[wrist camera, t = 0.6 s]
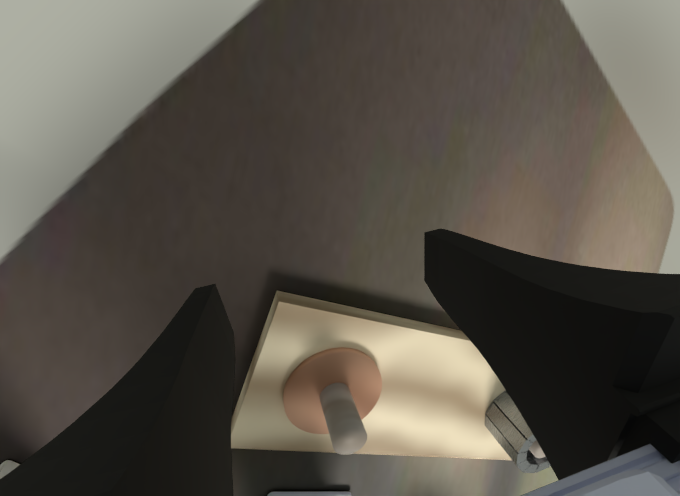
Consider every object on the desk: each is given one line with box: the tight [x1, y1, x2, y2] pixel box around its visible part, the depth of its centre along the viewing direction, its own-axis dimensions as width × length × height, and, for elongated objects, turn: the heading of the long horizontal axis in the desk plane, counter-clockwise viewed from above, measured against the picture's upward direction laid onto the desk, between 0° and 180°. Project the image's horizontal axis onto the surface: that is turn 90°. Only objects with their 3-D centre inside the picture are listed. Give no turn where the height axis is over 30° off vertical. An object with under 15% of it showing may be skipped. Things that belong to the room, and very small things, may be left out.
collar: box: [485, 391, 551, 473], centre depth 29 cm, size 5×5×4 cm
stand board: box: [231, 291, 546, 460], centre depth 27 cm, size 12×30×6 cm, turn 68°
